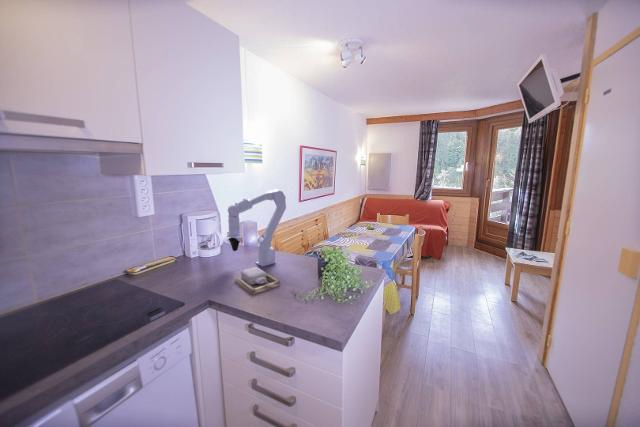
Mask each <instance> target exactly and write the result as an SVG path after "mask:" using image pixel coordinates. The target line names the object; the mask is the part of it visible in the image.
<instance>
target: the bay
mask: <svg viewBox="0 0 640 427" xmlns="http://www.w3.org/2000/svg"><path fill="white" fill-rule="evenodd" d="M266 279H268V280H267V281H270V283H267V284H264V285H260V286H258V287H255V288H254V287H252V285H250V284H248V283H247V282H246V281H244V280H243V279H241V277H239V276H237V275H236V276H234V281H235V283H237V284H239V285H240V287H243V288H244V289H245V290H246V291H248V292H249V293H250V294H252V295H256V294H258V293H261V292H264V291H268V290H270V289H273V288H277V287H278V286H281V281H280V280H279V279H277V278H275V277H273V276H272V275H271V274H268V273H267V272H266Z"/></svg>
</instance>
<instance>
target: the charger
mask: <svg viewBox="0 0 640 427" xmlns="http://www.w3.org/2000/svg"><path fill="white" fill-rule="evenodd" d="M266 273H267V272H266V271H264V270H263V269H261V268H259V267H257V266H253V267H250V268H246V269H243V270H241V271H240V279H241V280H243V281H244V282H246V283H247V284H248V285H250V286H252V285H257V284H259V285H262V284H265V283H267V281H269V280H268V279H266Z"/></svg>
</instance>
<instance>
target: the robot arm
mask: <svg viewBox="0 0 640 427" xmlns="http://www.w3.org/2000/svg"><path fill="white" fill-rule="evenodd" d="M264 201H273V202H274V204H275V206H276V208H275V210H274V212H273V213H272V216H271V218H270V220H269V222H268V224H267V226H266V228H265V230H264V231H263V232H262V234H261V235H260V236H259V237H258V238H257V243H258V247H257V260H258V261H255V264H257V265H258V266H260V267H266V266H269V265H274V264H276V263H277V261H276V251H275V248H274V247H273V246H272V240H273V235H274V233H275V232H276V230H277V227H278V226H279V223H280V222H281V219H282V217H283V215H284V213H285V210H287V202H286V195H285V194H284V192H283V191H282V190H280V189H277V188H275V189H273V190H268V191H267V192H264V193H262V194H260V195H258V196H256V197H253V198H252V199H249V198H243V199H242V200H240V201H239V202H235V203H234V204H231V205H229V206H228V207H227V208H228V209H227V213H228V216H227V217H228V231H227V234H226V237H227V238H228V239H227V240H228V241H229V243H230V245H231V248H232V251H233V252H237V251H238V249H239V245H240V242H242V241H243V236H242V235H241V230H240V229H241V228H240V214H242V213H245V212H247V211H248V210H249V211H250V209H253V206H254V205H257V204H259V203H262V202H264ZM273 261H274V262H273Z"/></svg>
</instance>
